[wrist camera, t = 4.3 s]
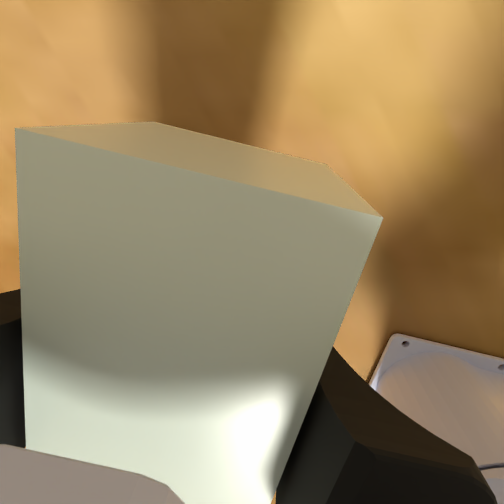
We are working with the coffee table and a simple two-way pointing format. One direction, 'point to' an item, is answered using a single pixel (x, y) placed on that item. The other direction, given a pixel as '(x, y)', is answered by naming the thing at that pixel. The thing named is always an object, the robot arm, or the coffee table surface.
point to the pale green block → (179, 300)
